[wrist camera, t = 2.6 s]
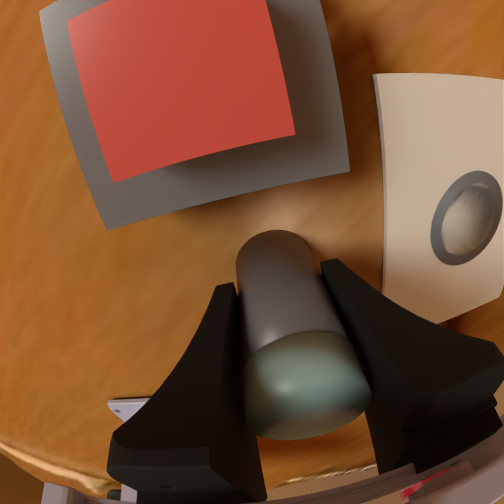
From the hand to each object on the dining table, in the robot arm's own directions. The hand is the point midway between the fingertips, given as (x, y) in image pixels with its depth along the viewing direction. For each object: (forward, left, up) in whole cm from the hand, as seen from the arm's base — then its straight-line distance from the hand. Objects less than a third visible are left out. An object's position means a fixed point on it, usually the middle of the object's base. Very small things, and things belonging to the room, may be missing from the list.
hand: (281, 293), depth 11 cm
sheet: (0, -10, -2) cm, 10 cm away
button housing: (+8, +1, -2) cm, 8 cm away
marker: (0, 0, -2) cm, 2 cm away
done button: (+8, +1, +1) cm, 8 cm away
